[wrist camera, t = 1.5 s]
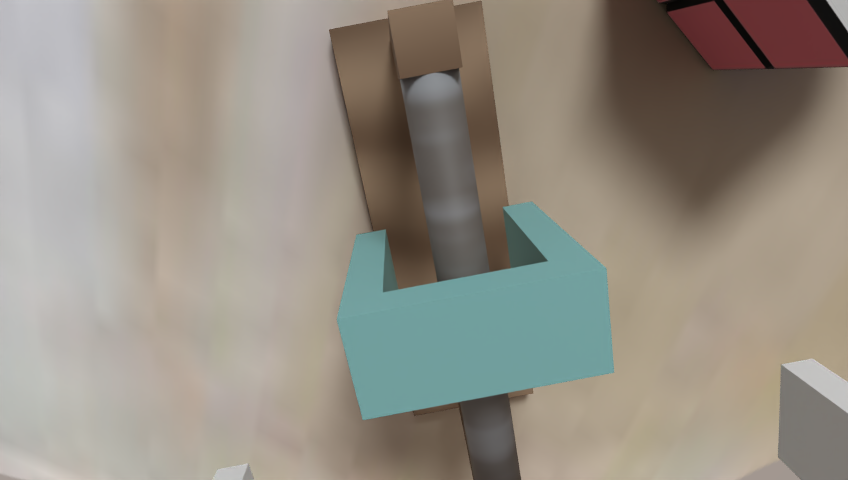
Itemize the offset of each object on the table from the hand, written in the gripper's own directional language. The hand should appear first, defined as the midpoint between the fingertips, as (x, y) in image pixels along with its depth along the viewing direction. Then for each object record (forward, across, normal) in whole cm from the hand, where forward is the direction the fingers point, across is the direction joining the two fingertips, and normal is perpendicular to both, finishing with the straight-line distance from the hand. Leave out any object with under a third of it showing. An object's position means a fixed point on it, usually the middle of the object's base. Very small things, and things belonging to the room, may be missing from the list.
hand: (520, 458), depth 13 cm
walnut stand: (+20, 0, 0) cm, 20 cm away
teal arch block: (+15, 0, 0) cm, 15 cm away
